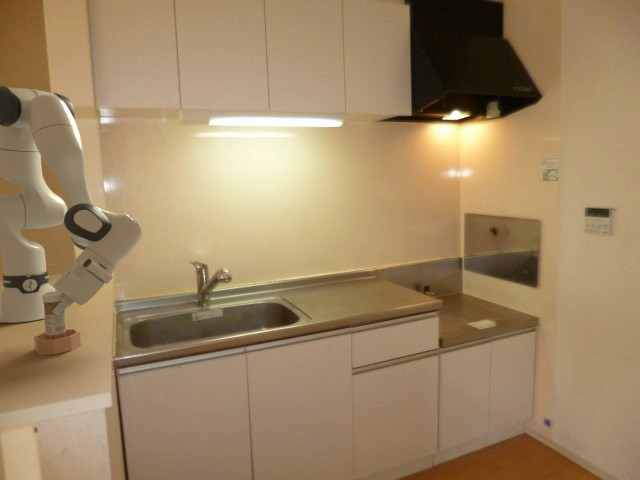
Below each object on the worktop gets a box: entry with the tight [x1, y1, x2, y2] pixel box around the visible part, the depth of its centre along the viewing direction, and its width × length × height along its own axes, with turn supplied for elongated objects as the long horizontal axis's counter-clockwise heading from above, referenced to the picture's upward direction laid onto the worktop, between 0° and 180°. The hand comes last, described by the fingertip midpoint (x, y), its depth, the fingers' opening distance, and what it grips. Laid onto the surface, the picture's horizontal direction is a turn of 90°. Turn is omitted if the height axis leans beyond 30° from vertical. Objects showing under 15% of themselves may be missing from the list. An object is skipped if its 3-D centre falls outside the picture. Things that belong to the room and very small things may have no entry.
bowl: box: [33, 328, 82, 356], centre depth 107 cm, size 9×9×4 cm
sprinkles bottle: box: [43, 290, 67, 340], centre depth 106 cm, size 5×5×13 cm
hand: (52, 311), depth 106 cm, fingers closed on sprinkles bottle, 4 cm apart
